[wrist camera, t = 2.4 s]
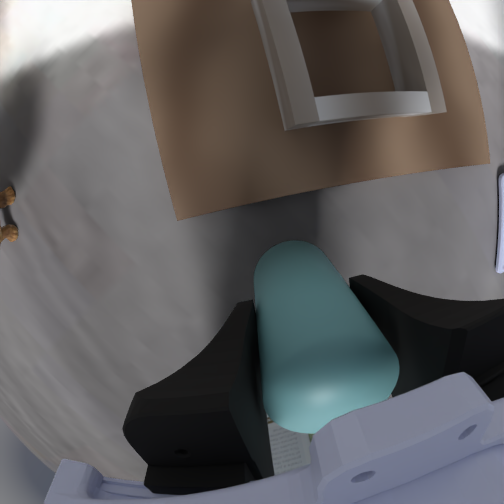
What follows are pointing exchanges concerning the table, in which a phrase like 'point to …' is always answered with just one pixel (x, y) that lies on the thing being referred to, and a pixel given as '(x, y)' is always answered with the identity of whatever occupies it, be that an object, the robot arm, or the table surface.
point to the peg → (315, 341)
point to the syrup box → (288, 448)
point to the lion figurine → (9, 230)
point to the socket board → (304, 95)
